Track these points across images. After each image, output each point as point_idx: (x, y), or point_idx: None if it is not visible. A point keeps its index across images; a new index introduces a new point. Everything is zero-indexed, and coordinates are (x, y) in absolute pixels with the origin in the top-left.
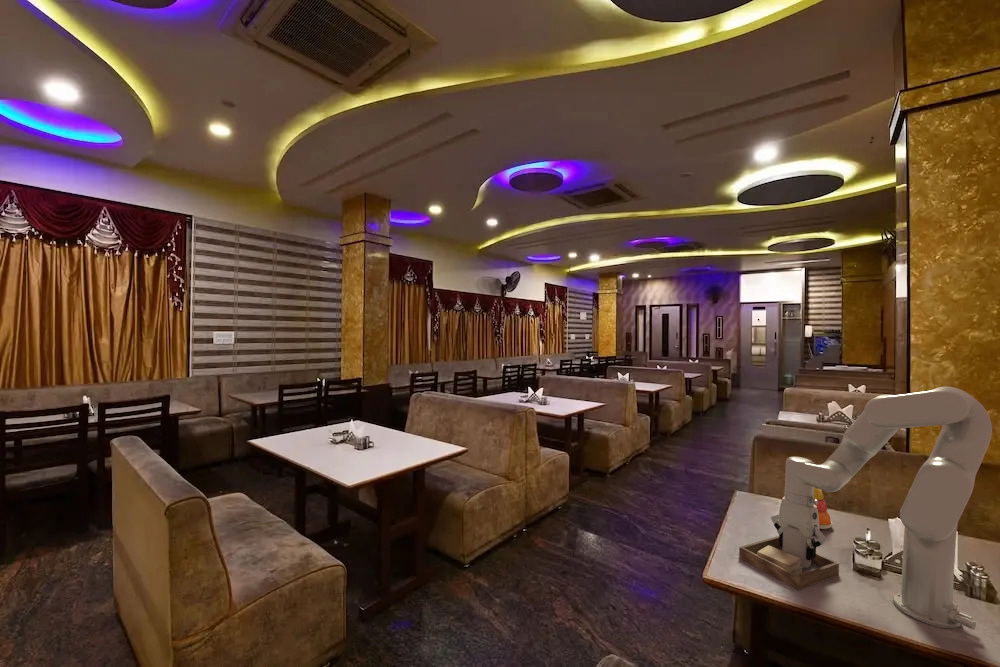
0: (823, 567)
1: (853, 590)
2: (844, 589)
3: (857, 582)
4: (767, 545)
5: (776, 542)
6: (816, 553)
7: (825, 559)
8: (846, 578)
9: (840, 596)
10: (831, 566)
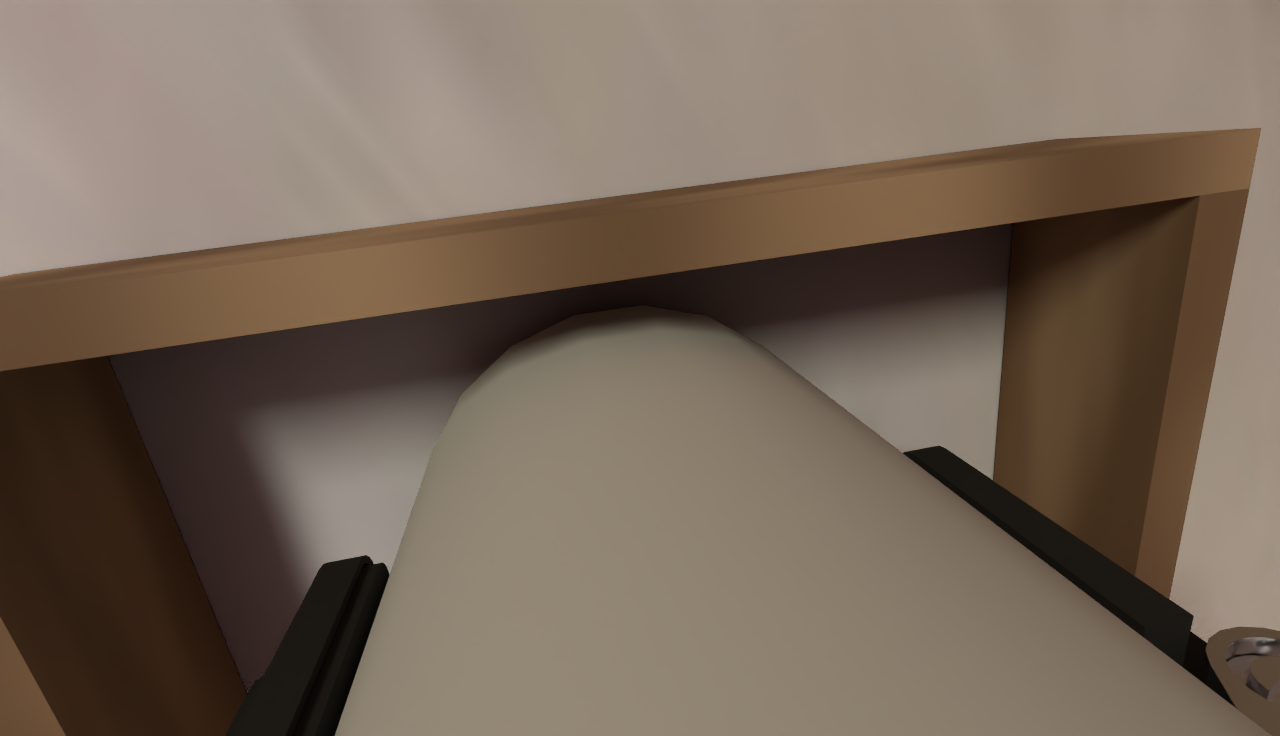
0: (1149, 566)
1: (1275, 334)
2: (1211, 421)
3: (1262, 63)
4: (165, 715)
5: (39, 467)
6: (845, 208)
7: (1024, 219)
8: (1147, 118)
9: (1225, 580)
10: (1203, 396)
